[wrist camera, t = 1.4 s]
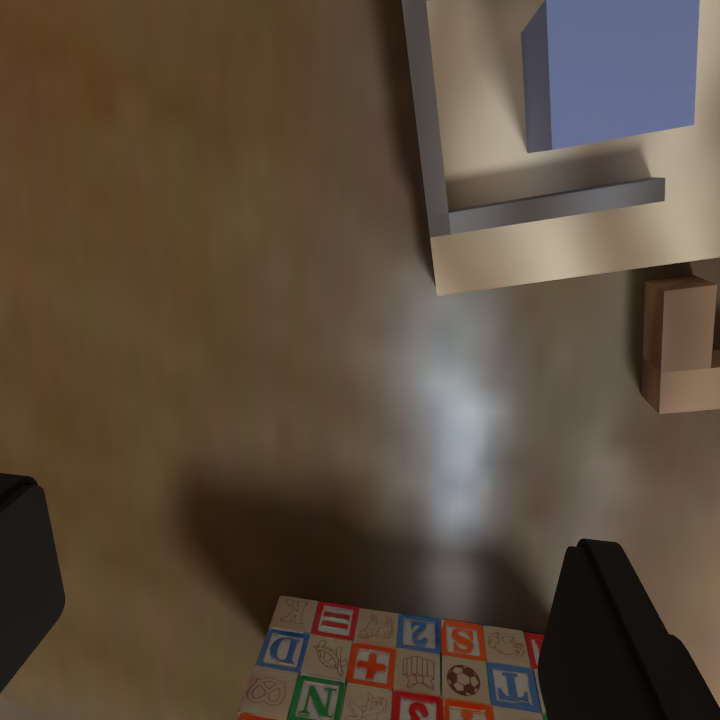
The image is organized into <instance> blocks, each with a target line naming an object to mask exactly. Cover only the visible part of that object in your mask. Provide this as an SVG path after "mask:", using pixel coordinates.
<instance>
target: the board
mask: <svg viewBox="0 0 720 720" xmlns="http://www.w3.org/2000/svg"><path fill="white" fill-rule="evenodd" d="M401 1H402V9H403V17H404V26H405V34H406V42H407V51H408V59H409V67H410V76H411V84H412V92H413V101H414V109H415V117H416V126H417V134H418V142H419V151H420V159H421V167H422V175H423V184H424V192H425V200H426V209H427V217H428V225H429V234H430V241H431V249H432V258H433V266H434V274H435V283H436V291H437V296H440V295H447V294H454V293H461V292H469V291H476V290H483V289H491V288H498V287H505V286H513V285H520V284H527V283H535V282H542V281H549V280H557V279H564V278H571V277H579V276H586V275H593V274H601V273H608V272H615V271H623V270H630V269H637V268H645V267H652V266H659V265H667V264H674V263H681V262H689V261H696V260H703V259H711V258H718V257H720V0H700V5H699V27H698V49H697V71H696V94H695V116H694V125H691V126H685V127H679V128H674V129H668V130H663V131H657V132H651V133H646V134H640V135H634V136H629V137H623V138H617V139H612V140H606V141H600V142H595V143H589V144H583V145H578V146H572V147H566V148H561V149H555V150H549V151H541V152H534V153H528V151H527V133H526V114H525V96H524V78H523V60H522V42H521V32H522V31H523V30H524V28H525V27H526V26H527V24H528V23H529V21H530V20H531V19H532V17H533V16H534V15H535V13H536V12H537V10H538V9H539V8H540V6H541V5H542V3H543V2H544V1H545V0H401Z"/></svg>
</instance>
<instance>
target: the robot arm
mask: <svg viewBox="0 0 720 720" xmlns="http://www.w3.org/2000/svg"><path fill="white" fill-rule="evenodd" d="M64 605H65V594H64V589H63V584H62V579H61V573H60V568H59V563H58V558H57V553H56V548H55V543H54V538H53V533H52V528H51V523H50V518H49V513H48V508H47V503H46V498H45V493H44V491H43V489H42V488H41V487H40V486H38V484H37V482H36V480H35V479H34V478H32V477H29V476H21V475H13V474H4V473H0V693H1V692H2V690H3V689H4V688H5V687H6V685H7V684H8V683H9V681H10V680H11V679H12V678H13V676H14V675H15V674H16V672H17V671H18V670H19V669H20V667H21V666H22V665H23V664H24V662H25V661H26V660H27V658H28V657H29V656H30V655H31V653H32V652H33V651H34V650H35V648H36V647H37V646H38V644H39V643H40V642H41V641H42V639H43V638H44V637H45V635H46V634H47V633H48V632H49V630H50V629H51V628H52V627H53V625H54V624H55V623H56V621H57V620H58V619H59V617H60V615H61V613H62V611H63V608H64ZM538 680H539V685H540V689H541V694H542V698H543V702H544V706H545V710H546V715H547V719H548V720H720V708H719V706H718V704H717V702H716V701H715V699H714V697H713V695H712V693H711V692H710V690H709V688H708V686H707V684H706V683H705V681H704V679H703V677H702V675H701V674H700V672H699V670H698V668H697V667H696V665H695V663H694V661H693V659H692V658H691V656H690V654H689V652H688V650H687V649H686V648H685V646H684V645H683V643H682V642H681V641H680V640H679V639H678V638H677V637H675V636H674V635H670V634H668V632H667V630H666V628H665V626H664V624H663V623H662V621H661V619H660V617H659V615H658V613H657V611H656V610H655V608H654V606H653V604H652V602H651V600H650V598H649V597H648V595H647V593H646V591H645V589H644V587H643V585H642V584H641V582H640V580H639V578H638V576H637V574H636V572H635V571H634V569H633V567H632V565H631V563H630V561H629V559H628V558H627V556H626V554H625V552H624V550H623V548H622V547H621V546H620V544H618V543H616V542H609V541H600V540H591V539H581V540H580V541H579V542H578V544H577V547H573V546H570V547H568V548H567V550H566V553H565V557H564V561H563V565H562V569H561V572H560V576H559V580H558V584H557V588H556V592H555V596H554V600H553V604H552V608H551V611H550V615H549V619H548V623H547V627H546V631H545V635H544V639H543V643H542V647H541V651H540V654H539V659H538Z"/></svg>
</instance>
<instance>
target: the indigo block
mask: <svg viewBox="0 0 720 720" xmlns="http://www.w3.org/2000/svg"><path fill="white" fill-rule="evenodd" d="M699 5H700V0H545V1H544V2H543V3H542V5H541V6H540V8H539V9H538V10H537V12H536V13H535V15H534V16H533V17H532V19H531V20H530V21H529V23H528V24H527V26H526V27H525V28H524V30H523V31H522V32H521V42H522V60H523V78H524V96H525V114H526V133H527V151H528V153H534V152H541V151H549V150H555V149H561V148H566V147H572V146H578V145H583V144H589V143H595V142H600V141H606V140H612V139H617V138H623V137H629V136H634V135H640V134H646V133H651V132H657V131H663V130H668V129H674V128H679V127H685V126H691V125H694V116H695V94H696V71H697V49H698V27H699Z"/></svg>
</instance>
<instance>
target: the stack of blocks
mask: <svg viewBox="0 0 720 720" xmlns="http://www.w3.org/2000/svg"><path fill="white" fill-rule="evenodd" d="M543 639H544V635H541V634H534V633H528V632H527V633H524V632H523V631H521V630H515V629H508V628H501V627H494V626H481V625H479V624H474V623H466V622H460V621H454V620H447V619H441V620H439V619H435V618H428V617H421V616H414V615H407V614H397V613H392V612H384V611H378V610H371V609H363V608H359V607H354V606H348V605H341V604H334V603H327V602H320V601H315V600H308V599H302V598H295V597H288V596H280V597H279V599H278V602H277V605H276V608H275V611H274V614H273V617H272V620H271V622H270V626H269V630H268V632H267V635H266V638H265V640H264V643H263V646H262V648H261V651H260V654H259V657H258V659H257V662H256V665H255V668H254V669H253V671H252V674H251V677H250V679H249V682H248V685H247V688H246V690H245V693H244V696H243V699H242V702H241V705H240V708H239V711H238V720H548V719H547V715H546V710H545V706H544V702H543V698H542V694H541V689H540V685H539V680H538V659H539V654H540V651H541V647H542V643H543Z"/></svg>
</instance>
